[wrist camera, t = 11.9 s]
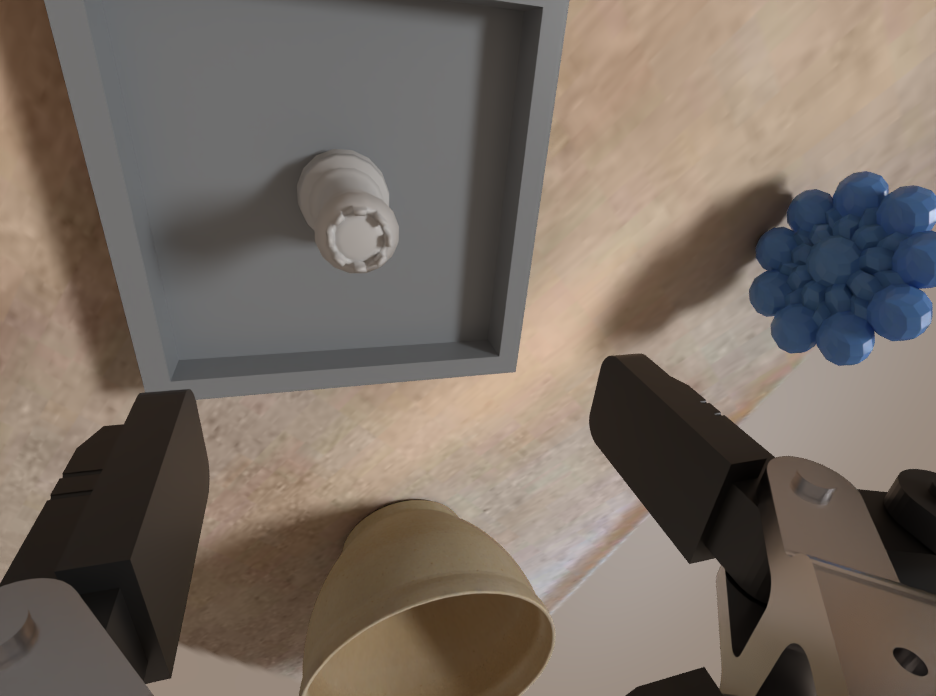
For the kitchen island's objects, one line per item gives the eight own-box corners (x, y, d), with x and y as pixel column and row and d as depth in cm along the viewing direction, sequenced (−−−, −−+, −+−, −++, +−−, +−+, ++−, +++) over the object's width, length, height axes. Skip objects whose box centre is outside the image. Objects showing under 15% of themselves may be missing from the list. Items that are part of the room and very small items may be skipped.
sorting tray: (544, -14, 25) (572, -23, 22) (499, 349, 34) (515, 372, 31) (51, -90, 19) (14, -113, 16) (161, 373, 28) (148, 404, 26)
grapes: (744, 328, 40) (896, 417, 30) (691, 295, 37) (841, 383, 27) (850, 193, 36) (1062, 243, 26) (802, 144, 33) (1021, 180, 23)
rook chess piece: (332, 253, 27) (345, 317, 20) (276, 178, 24) (270, 223, 18) (403, 208, 27) (439, 257, 20) (354, 128, 24) (377, 155, 18)
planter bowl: (330, 635, 43) (339, 789, 34) (267, 504, 35) (257, 662, 25) (508, 571, 46) (560, 697, 37) (489, 436, 37) (552, 557, 28)
